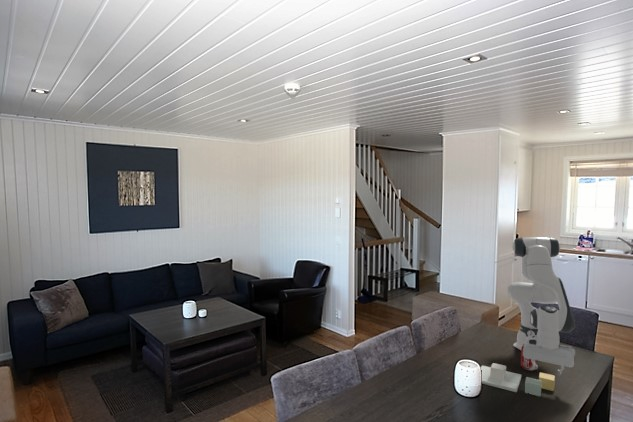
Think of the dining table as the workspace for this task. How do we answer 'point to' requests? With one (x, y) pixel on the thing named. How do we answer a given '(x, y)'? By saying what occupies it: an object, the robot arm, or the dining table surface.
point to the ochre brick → (547, 381)
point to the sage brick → (533, 386)
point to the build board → (496, 382)
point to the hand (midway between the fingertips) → (547, 371)
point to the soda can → (526, 362)
